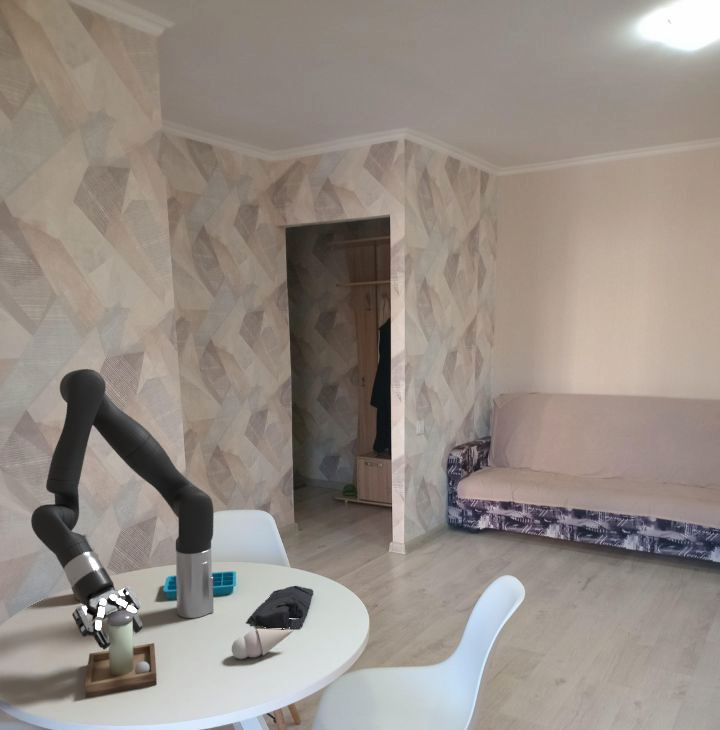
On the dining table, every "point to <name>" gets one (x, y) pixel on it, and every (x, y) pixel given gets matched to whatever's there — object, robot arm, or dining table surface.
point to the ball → (142, 668)
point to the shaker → (120, 642)
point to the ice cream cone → (258, 642)
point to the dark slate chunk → (283, 608)
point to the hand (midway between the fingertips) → (123, 638)
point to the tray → (105, 683)
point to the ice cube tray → (221, 584)
